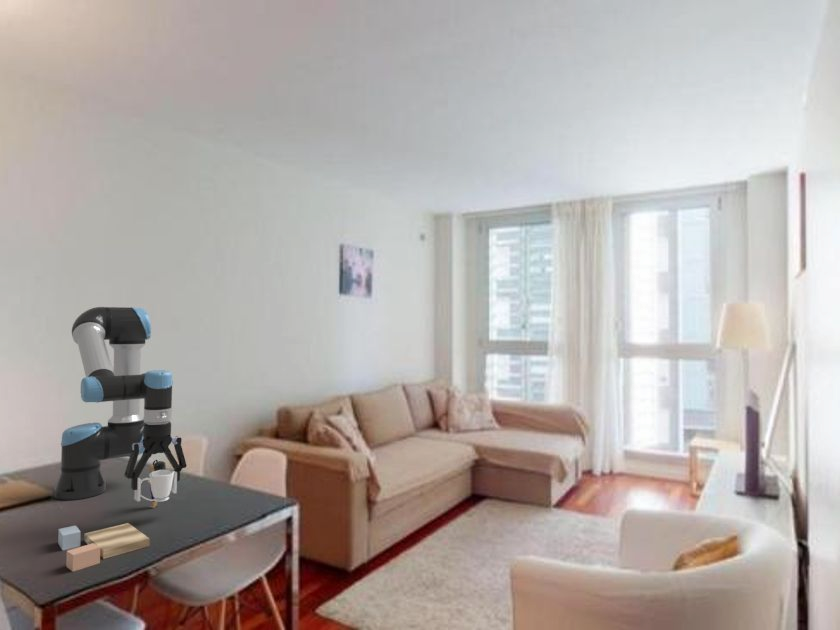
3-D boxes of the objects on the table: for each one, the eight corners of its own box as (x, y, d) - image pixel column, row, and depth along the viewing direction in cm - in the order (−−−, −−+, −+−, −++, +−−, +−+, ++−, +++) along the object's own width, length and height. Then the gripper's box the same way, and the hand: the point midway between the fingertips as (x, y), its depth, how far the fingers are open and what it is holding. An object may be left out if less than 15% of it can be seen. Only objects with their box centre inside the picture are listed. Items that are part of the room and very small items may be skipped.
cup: (176, 500, 163) (176, 474, 163) (138, 506, 157) (139, 479, 157) (171, 493, 169) (172, 468, 169) (135, 499, 163) (136, 472, 163)
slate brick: (58, 544, 145) (58, 529, 145) (75, 540, 148) (75, 525, 148) (62, 551, 141) (62, 535, 141) (80, 546, 143) (80, 531, 143)
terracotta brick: (72, 572, 129) (73, 555, 129) (66, 567, 131) (66, 550, 132) (99, 563, 134) (100, 547, 134) (93, 559, 136) (93, 543, 136)
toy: (155, 501, 179) (155, 456, 179) (172, 501, 180) (172, 456, 180) (141, 512, 169) (142, 464, 169) (159, 512, 169) (160, 464, 170)
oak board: (84, 540, 147) (84, 533, 147) (127, 529, 155) (128, 522, 155) (103, 558, 136) (103, 550, 136) (149, 546, 144) (149, 538, 144)
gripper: (121, 429, 152) (119, 508, 152) (199, 419, 168) (198, 490, 169) (112, 425, 157) (110, 501, 157) (189, 415, 174) (187, 485, 174)
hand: (155, 496), depth 163 cm, fingers closed on cup, 10 cm apart
